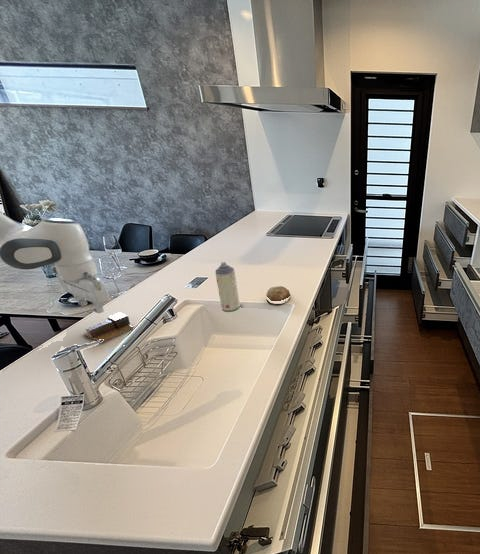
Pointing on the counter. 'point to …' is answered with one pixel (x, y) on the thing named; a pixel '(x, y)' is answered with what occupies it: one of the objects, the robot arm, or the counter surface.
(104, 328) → the dish brush
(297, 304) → the counter surface
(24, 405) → the counter surface
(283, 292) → the bread roll
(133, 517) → the counter surface
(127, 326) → the light flat block
